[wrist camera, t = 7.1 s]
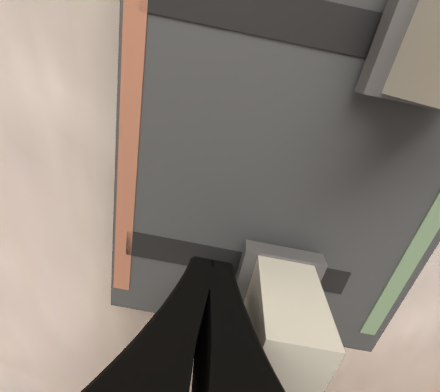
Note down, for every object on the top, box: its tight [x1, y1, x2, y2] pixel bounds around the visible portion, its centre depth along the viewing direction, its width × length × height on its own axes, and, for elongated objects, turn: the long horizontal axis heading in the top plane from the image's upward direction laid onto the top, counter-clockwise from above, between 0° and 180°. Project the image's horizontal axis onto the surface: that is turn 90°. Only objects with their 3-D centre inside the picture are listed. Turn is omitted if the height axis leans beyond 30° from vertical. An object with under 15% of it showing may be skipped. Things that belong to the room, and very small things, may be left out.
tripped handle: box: [236, 240, 346, 392], centre depth 9 cm, size 3×3×4 cm
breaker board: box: [111, 0, 440, 352], centre depth 10 cm, size 11×14×2 cm
